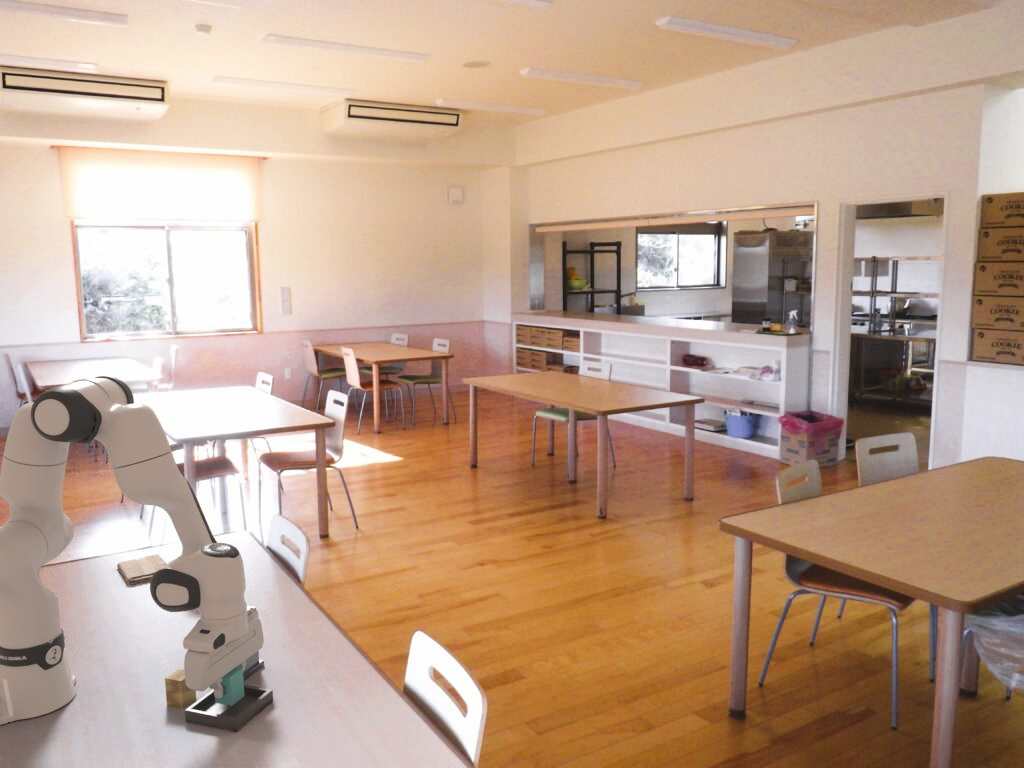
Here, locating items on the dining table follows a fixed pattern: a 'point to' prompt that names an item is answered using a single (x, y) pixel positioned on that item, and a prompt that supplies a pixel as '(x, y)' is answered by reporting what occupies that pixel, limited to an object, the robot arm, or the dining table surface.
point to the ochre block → (178, 690)
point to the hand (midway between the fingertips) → (229, 689)
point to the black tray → (229, 709)
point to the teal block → (232, 687)
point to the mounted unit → (252, 662)
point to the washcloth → (140, 569)
